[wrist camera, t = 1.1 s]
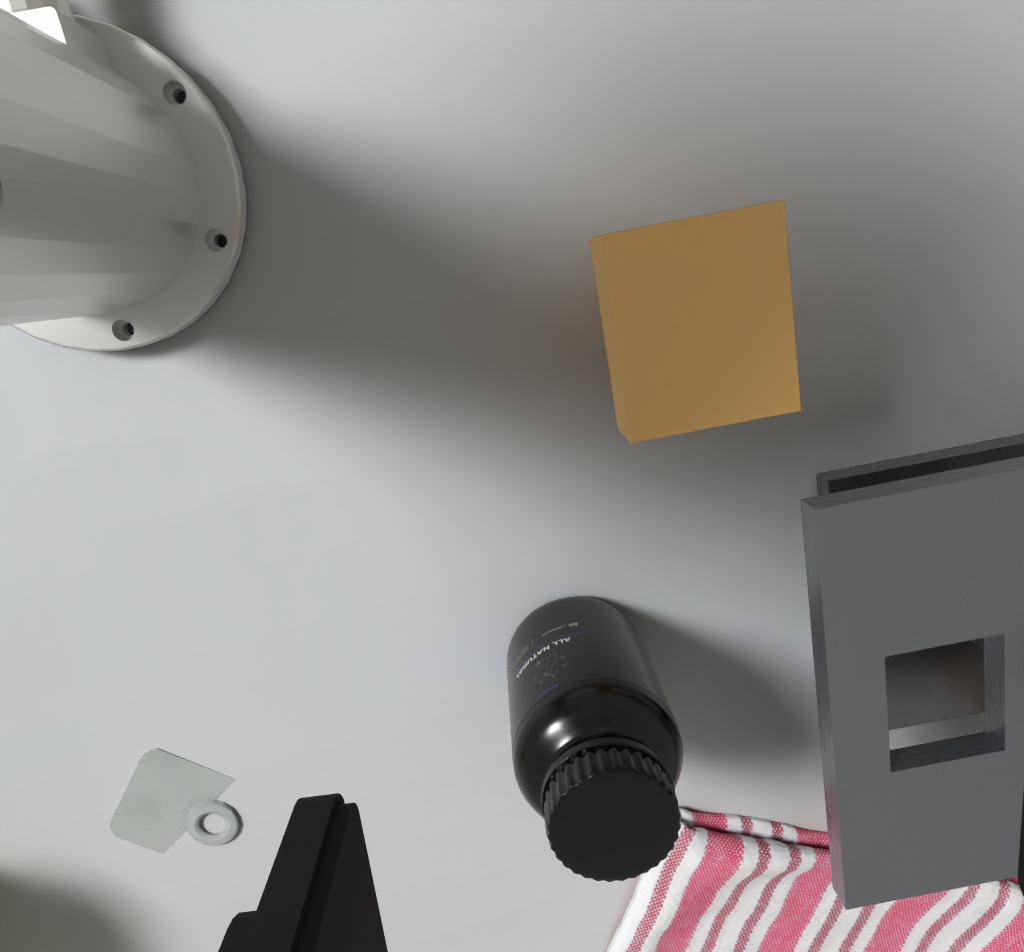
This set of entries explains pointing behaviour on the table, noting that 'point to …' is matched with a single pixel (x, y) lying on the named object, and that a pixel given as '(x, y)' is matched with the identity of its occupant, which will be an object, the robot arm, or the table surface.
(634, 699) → the supplement bottle
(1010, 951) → the dish towel
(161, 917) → the table surface
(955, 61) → the table surface
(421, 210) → the table surface
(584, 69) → the table surface
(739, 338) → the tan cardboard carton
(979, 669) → the gray tiered stand
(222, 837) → the mounting bracket
